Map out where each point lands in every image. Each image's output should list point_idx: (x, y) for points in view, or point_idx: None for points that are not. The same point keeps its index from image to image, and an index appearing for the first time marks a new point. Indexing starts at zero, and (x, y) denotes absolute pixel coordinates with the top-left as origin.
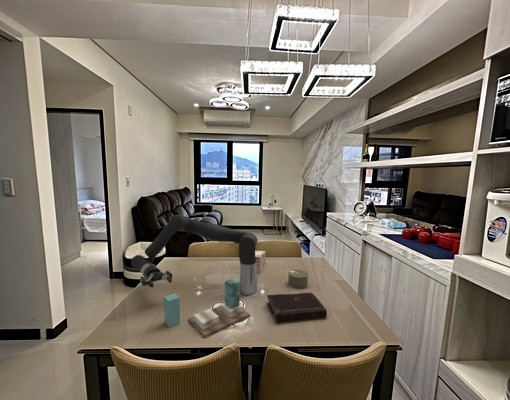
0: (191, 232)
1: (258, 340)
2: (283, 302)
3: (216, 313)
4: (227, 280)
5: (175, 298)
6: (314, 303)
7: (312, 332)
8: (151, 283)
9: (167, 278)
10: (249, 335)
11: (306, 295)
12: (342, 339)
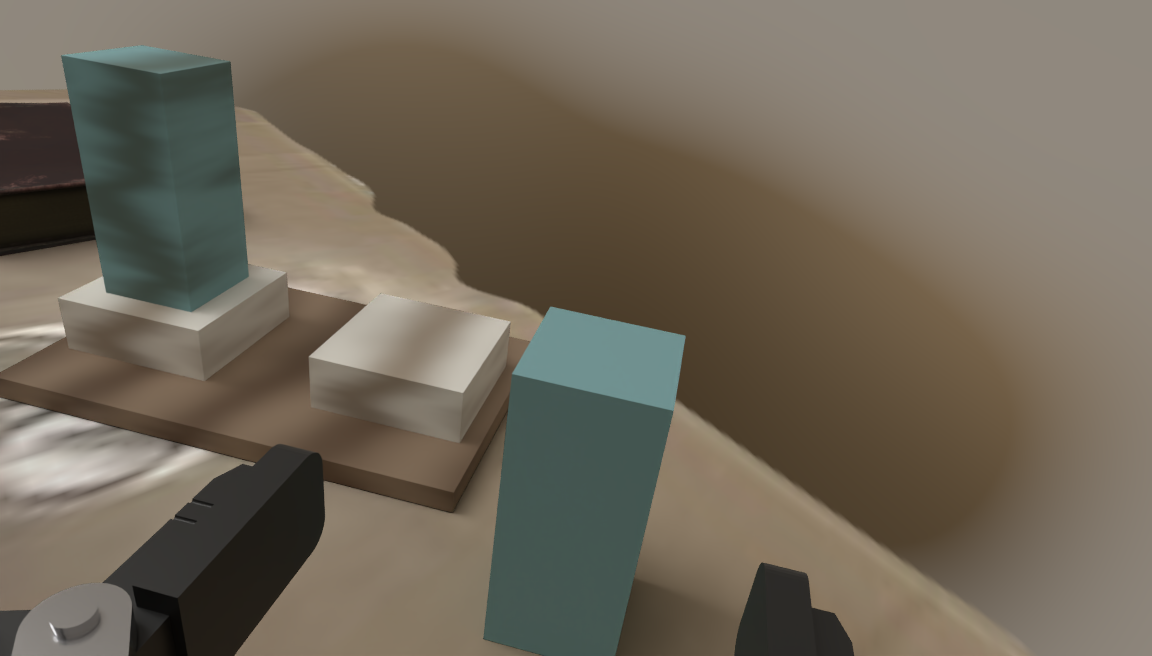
0: None
1: (399, 235)
2: (51, 160)
3: (267, 383)
4: (144, 68)
5: (595, 320)
6: (34, 112)
7: (247, 160)
8: (807, 592)
9: (212, 609)
10: (384, 257)
11: None
12: (256, 130)
